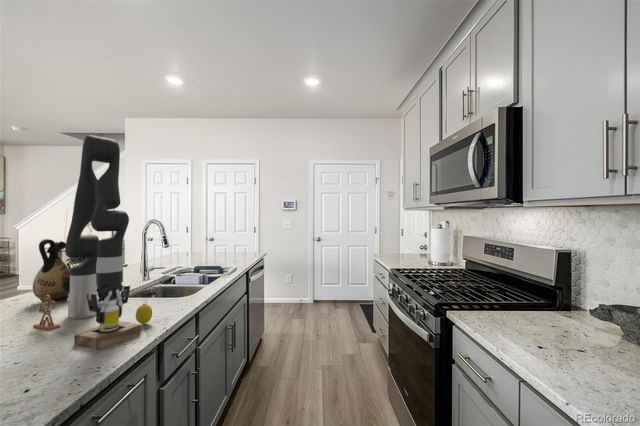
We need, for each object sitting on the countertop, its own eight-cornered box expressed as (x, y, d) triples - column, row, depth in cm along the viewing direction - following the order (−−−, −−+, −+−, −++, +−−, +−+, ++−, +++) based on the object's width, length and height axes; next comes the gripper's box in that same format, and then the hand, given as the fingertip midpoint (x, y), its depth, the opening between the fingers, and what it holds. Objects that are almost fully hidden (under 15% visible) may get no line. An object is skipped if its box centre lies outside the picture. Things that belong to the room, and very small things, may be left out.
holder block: (74, 345, 101) (74, 334, 101) (114, 330, 114) (114, 320, 114) (101, 350, 97) (102, 339, 97) (140, 334, 110) (140, 324, 110)
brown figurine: (32, 327, 116) (33, 295, 116) (44, 324, 120) (45, 292, 120) (48, 330, 113) (49, 297, 113) (60, 327, 117) (61, 294, 117)
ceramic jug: (55, 296, 158) (56, 237, 158) (82, 298, 156) (83, 237, 156) (18, 306, 141) (20, 239, 142) (48, 308, 139) (49, 240, 139)
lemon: (144, 327, 117) (145, 306, 117) (132, 326, 118) (132, 305, 118) (155, 322, 122) (155, 302, 122) (143, 321, 123) (143, 301, 123)
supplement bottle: (122, 327, 107) (123, 298, 107) (107, 332, 102) (107, 302, 102) (111, 325, 109) (111, 297, 109) (95, 330, 104) (95, 301, 104)
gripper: (120, 265, 114) (120, 312, 114) (79, 272, 100) (79, 326, 100) (136, 267, 111) (136, 315, 111) (97, 274, 98) (96, 328, 98)
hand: (109, 320), depth 106 cm, fingers closed on supplement bottle, 5 cm apart
